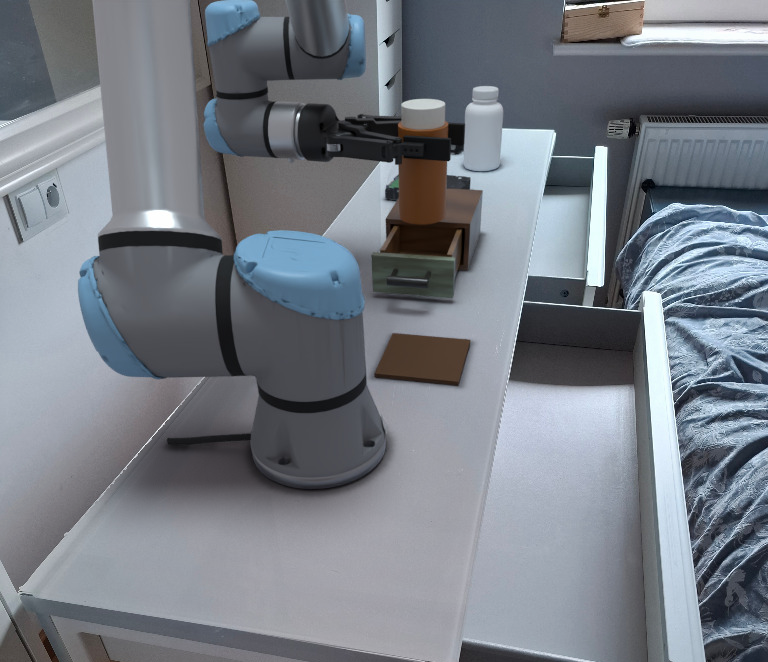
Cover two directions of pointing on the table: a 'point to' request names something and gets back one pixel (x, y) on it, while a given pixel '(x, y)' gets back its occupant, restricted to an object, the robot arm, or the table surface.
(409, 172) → the pill bottle
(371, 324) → the table surface
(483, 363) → the table surface
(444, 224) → the cabinet
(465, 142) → the pill bottle
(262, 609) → the table surface
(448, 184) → the disk drive
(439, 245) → the drawer
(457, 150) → the electric trimmer
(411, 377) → the mat
